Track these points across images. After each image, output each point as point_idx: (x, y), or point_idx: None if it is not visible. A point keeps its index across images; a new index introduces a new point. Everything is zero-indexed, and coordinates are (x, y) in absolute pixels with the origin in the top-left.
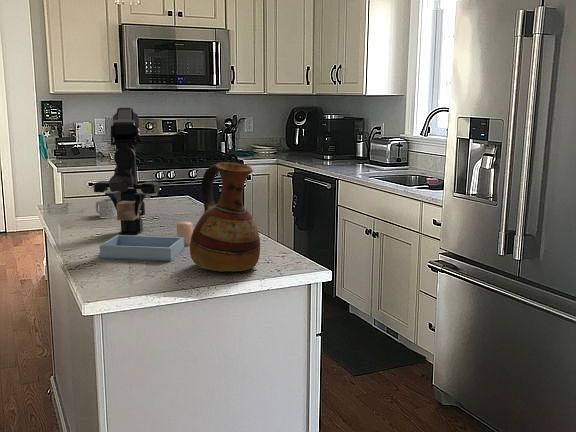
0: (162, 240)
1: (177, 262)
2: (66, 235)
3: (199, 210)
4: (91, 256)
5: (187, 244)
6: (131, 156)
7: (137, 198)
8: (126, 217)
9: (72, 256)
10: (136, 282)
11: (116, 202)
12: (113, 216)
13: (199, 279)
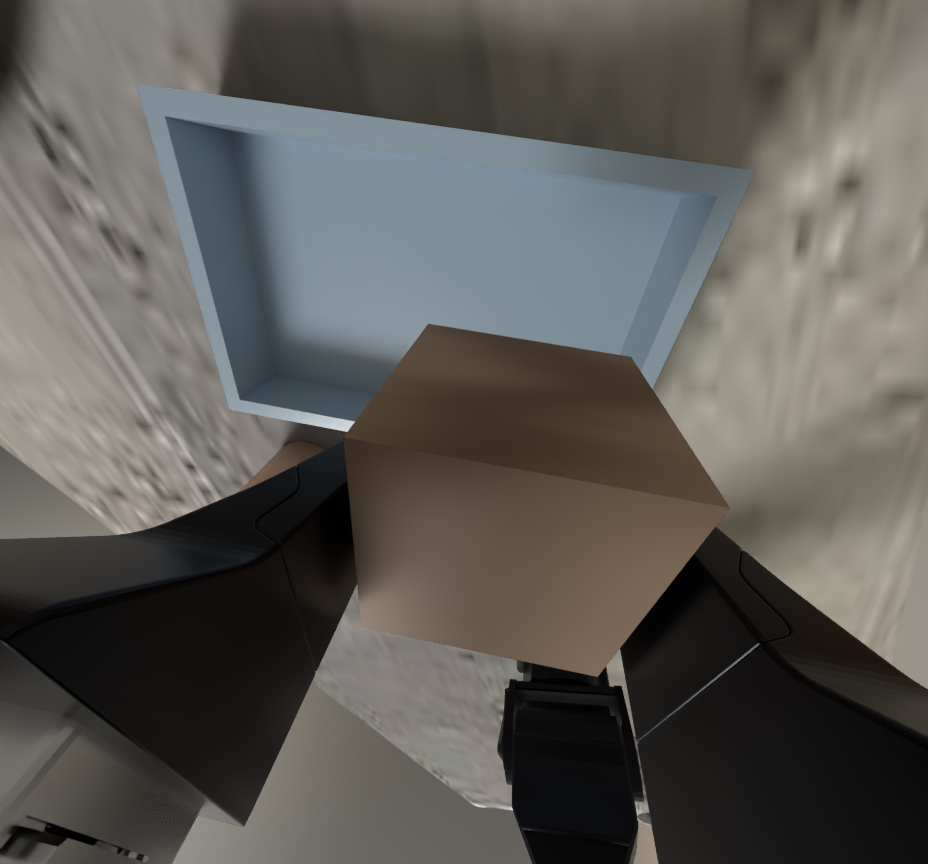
0: (348, 409)
1: (169, 85)
2: (837, 622)
3: (409, 738)
4: (764, 244)
5: (285, 446)
6: None
7: (175, 550)
8: (510, 348)
9: (911, 242)
10: None
11: (720, 578)
12: (635, 743)
13: None
